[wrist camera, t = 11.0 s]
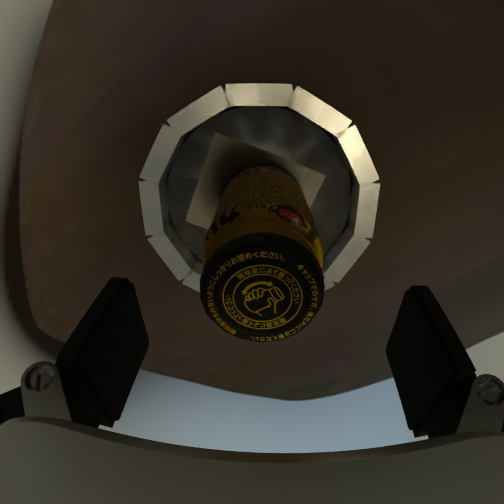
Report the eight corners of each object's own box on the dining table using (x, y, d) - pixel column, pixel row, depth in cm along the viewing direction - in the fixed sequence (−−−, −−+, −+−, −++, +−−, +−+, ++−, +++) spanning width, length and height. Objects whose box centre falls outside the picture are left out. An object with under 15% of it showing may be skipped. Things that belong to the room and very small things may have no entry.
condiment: (285, 256, 25) (298, 371, 14) (185, 220, 24) (129, 318, 13) (325, 174, 22) (380, 249, 11) (215, 131, 21) (164, 165, 10)
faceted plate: (144, 93, 20) (132, 93, 18) (375, 94, 19) (386, 94, 17) (165, 288, 28) (158, 303, 26) (352, 291, 27) (358, 306, 25)
